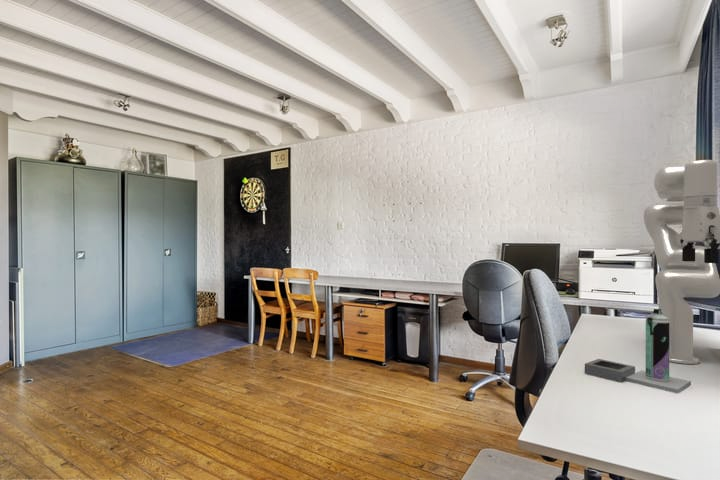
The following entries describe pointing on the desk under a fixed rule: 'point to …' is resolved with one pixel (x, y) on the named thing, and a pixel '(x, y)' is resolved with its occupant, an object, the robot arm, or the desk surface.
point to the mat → (672, 386)
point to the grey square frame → (609, 370)
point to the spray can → (657, 346)
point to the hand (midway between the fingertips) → (699, 262)
